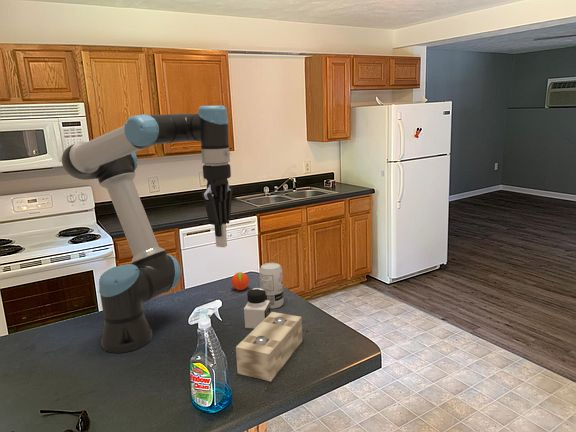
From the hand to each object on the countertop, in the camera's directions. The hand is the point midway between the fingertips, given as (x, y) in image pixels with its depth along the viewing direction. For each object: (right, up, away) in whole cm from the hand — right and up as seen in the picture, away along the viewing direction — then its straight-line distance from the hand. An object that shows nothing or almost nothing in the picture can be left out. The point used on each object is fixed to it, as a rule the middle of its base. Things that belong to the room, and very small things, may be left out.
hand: (221, 246), depth 123 cm
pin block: (+14, -32, +1) cm, 35 cm away
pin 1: (+12, -32, -5) cm, 34 cm away
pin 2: (+17, -29, +6) cm, 34 cm away
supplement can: (+13, -24, +35) cm, 44 cm away
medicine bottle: (+9, -28, +21) cm, 36 cm away
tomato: (0, -21, +49) cm, 53 cm away
